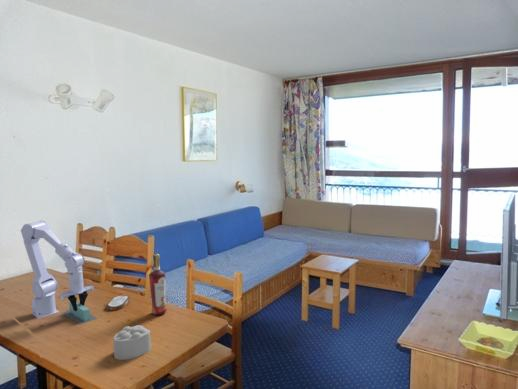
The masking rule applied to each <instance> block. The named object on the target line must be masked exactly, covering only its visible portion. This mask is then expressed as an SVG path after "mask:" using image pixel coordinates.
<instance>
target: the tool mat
mask: <svg viewBox="0 0 518 389" xmlns="http://www.w3.org/2000/svg"><path fill="white" fill-rule="evenodd" d="M61 314H62V315H64V316H66V317H68V318H69V319H70V320H71V321H73V322H75V323H76V324H78V325H83V324H86V323H89V322H91V321H94V320H97V319H98V318H97V317H96V316H94V315H92V314H91V313H90V320H88V321H83V320H81V319H80V318H78V317H77V316H75V315H73V314H72V313H70V309H68V310H65V311H63V312H61Z"/></svg>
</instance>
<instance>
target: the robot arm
mask: <svg viewBox="0 0 518 389" xmlns="http://www.w3.org/2000/svg"><path fill="white" fill-rule="evenodd" d="M20 233H21V235H22V239H23V244H24V247H25V250H26V253H27V256H28V259H29V262H30V266H31V269H32V273H33V275H34V279H33V281H32V282H31V287H32V289H31V290H32V294H33V296H34V298H31V312H32V313H31V315H32V316H34V317H35V318H37V319H41V318H44V317H47V316H50V315H53V314H56V313H59V312H60V311H59V310H58V309H57V308H56V295H55V293H56V292H57V290H58V288H59V287H58V286H59V285H58V281H57V280H56V279H55V278H54V275H52V274H50V273H49V272H48V269H47V267H46V266H47V265H46V263H45V260H44V257H43V254H42V251H41V248H40V245H39V241H40V239H44V241H46V242H47V243H48V244H49V245H51V246H52V247H53V248H54V252H55V253H56V255H58V257H60V258H61V259H62V260H63V261H64V266H65V268H66V271H67V273H68V278H69V279H68V281H69V283H68V284H69V290H68V291H65V292H63V293H61V294H59V298H60V299H61V300H64V299H66V298H67V299H68V302H71V304H72V307H73V310H74V311H77V305H76V302H78V301H77V300H78V299H79V303H80V304H81V305H83V306H85V303H86V300H87V298H88V295H89V293H88V292H90V291H91V292H93V291H94V290H95V289H94V285H88V286H84V274H83V272H84V271H83V265H84V264H85V261H86V260H85V257H84V256H83V254H82V253H78V252H75V251H74V250H73V248H71V247H70V245H69V244H67V243H65V242H61V241H60V240H59V238H58V237H57V236H56V234H54V233H53V232H52V230H51V226H50V224H49V223H47V222H46V221H45V220H42V219H41V220H38V221H36V222H30V223H25V224H24V225H23V226H22V227H21V229H20ZM77 295H78V297H76V296H77ZM77 298H78V299H77Z"/></svg>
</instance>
